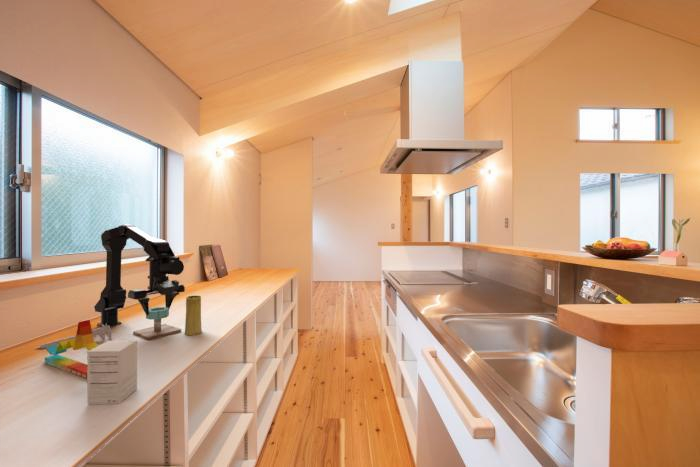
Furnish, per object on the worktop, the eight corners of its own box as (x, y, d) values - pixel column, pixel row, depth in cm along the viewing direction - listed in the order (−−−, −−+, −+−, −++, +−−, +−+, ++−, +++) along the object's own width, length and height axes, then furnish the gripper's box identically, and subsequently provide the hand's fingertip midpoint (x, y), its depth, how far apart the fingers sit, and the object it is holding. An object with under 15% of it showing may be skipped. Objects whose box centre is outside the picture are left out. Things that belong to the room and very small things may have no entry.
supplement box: (107, 389, 81) (107, 340, 81) (137, 388, 82) (138, 339, 81) (85, 405, 74) (86, 351, 73) (119, 404, 74) (120, 350, 74)
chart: (43, 364, 96) (43, 314, 95) (56, 360, 98) (57, 312, 98) (102, 386, 83) (102, 329, 83) (115, 381, 86) (116, 326, 86)
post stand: (133, 334, 123) (133, 313, 122) (165, 326, 133) (165, 307, 133) (148, 340, 116) (148, 318, 116) (181, 331, 126) (181, 311, 126)
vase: (205, 331, 127) (205, 295, 127) (193, 336, 121) (193, 298, 121) (193, 329, 129) (193, 294, 129) (180, 334, 123) (181, 297, 123)
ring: (143, 317, 123) (143, 309, 123) (162, 313, 129) (162, 306, 129) (152, 320, 119) (152, 312, 119) (171, 316, 125) (171, 308, 125)
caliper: (111, 339, 117) (111, 322, 117) (110, 340, 116) (110, 323, 116) (36, 349, 107) (36, 330, 107) (35, 350, 106) (35, 331, 106)
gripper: (142, 278, 112) (141, 322, 112) (192, 272, 128) (192, 311, 128) (127, 275, 118) (127, 317, 118) (177, 270, 134) (177, 307, 134)
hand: (157, 313), depth 124 cm, fingers closed on ring, 7 cm apart
